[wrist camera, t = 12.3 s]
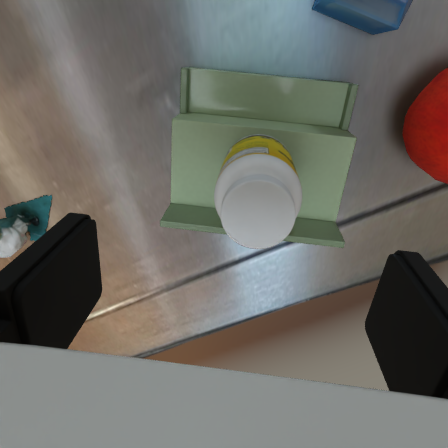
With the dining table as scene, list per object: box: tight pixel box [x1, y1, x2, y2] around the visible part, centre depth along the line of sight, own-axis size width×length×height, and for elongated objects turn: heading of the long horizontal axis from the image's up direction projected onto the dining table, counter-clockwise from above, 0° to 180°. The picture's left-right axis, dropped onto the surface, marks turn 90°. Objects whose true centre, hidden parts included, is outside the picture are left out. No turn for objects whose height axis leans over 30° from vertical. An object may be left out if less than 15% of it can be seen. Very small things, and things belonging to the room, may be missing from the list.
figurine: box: [0, 195, 52, 258], centre depth 41 cm, size 12×9×8 cm
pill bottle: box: [214, 134, 302, 249], centre depth 26 cm, size 6×6×11 cm
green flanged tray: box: [160, 67, 358, 248], centre depth 32 cm, size 13×16×11 cm
